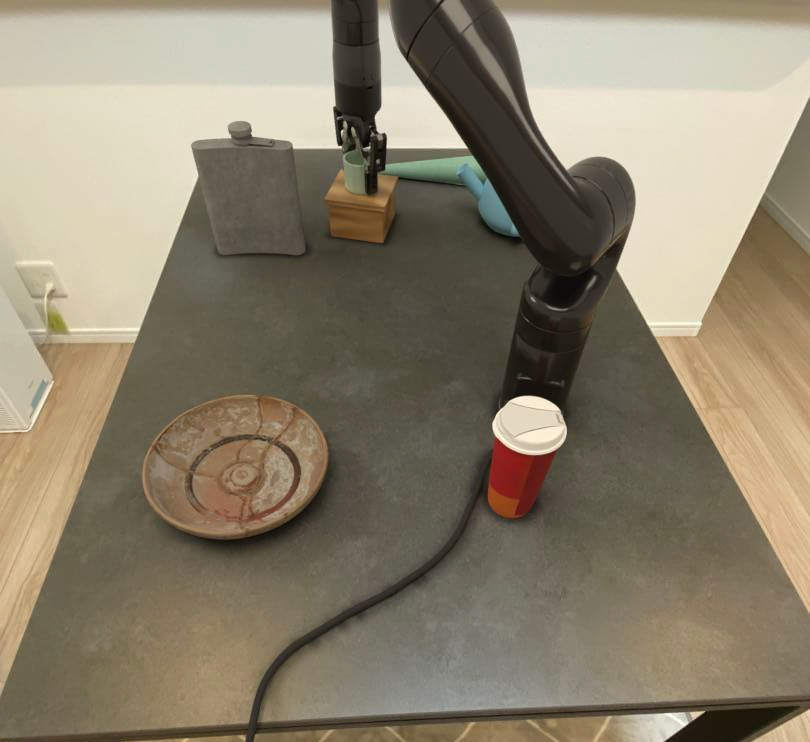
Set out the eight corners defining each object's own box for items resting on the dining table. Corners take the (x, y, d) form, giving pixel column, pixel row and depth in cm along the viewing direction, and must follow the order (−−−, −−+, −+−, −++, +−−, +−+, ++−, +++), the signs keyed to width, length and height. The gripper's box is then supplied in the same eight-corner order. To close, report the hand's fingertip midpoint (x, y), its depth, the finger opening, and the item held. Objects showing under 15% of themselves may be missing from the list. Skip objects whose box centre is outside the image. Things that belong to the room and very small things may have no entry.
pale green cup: (373, 198, 107) (372, 168, 102) (340, 193, 107) (338, 163, 103) (381, 181, 110) (380, 151, 106) (349, 177, 110) (348, 147, 106)
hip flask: (216, 255, 108) (184, 131, 91) (219, 242, 110) (189, 119, 94) (305, 255, 109) (289, 132, 92) (306, 242, 111) (291, 120, 94)
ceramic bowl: (365, 458, 82) (363, 433, 78) (257, 587, 71) (249, 566, 67) (232, 396, 89) (224, 369, 84) (115, 506, 77) (99, 481, 73)
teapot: (554, 256, 110) (572, 184, 99) (446, 244, 111) (452, 172, 101) (557, 200, 121) (572, 130, 110) (458, 190, 122) (464, 120, 111)
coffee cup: (536, 475, 81) (562, 391, 69) (546, 524, 77) (576, 445, 64) (474, 476, 81) (490, 392, 69) (481, 526, 77) (498, 446, 64)
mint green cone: (365, 138, 122) (496, 149, 120) (366, 167, 127) (492, 178, 125) (360, 151, 119) (495, 162, 117) (361, 180, 124) (491, 191, 122)
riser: (384, 245, 111) (384, 207, 105) (327, 237, 112) (324, 199, 106) (397, 214, 117) (398, 176, 111) (343, 206, 118) (340, 169, 112)
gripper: (314, 62, 96) (324, 172, 110) (359, 95, 90) (364, 208, 104) (355, 53, 98) (359, 162, 112) (402, 85, 92) (400, 197, 106)
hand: (361, 184), depth 108 cm, fingers open, 6 cm apart
